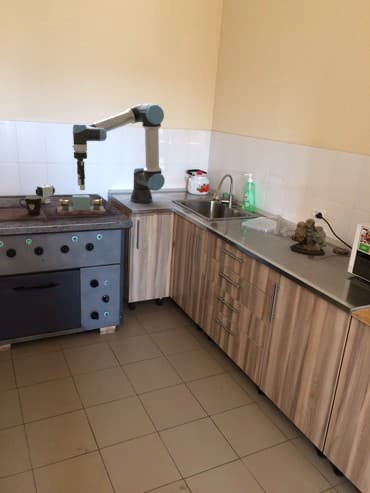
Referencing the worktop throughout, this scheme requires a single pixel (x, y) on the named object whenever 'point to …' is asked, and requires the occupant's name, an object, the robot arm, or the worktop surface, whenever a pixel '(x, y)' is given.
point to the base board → (80, 211)
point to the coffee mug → (33, 205)
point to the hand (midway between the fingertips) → (81, 187)
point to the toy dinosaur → (282, 225)
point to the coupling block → (80, 202)
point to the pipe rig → (65, 204)
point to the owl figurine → (309, 238)
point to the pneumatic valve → (45, 192)
